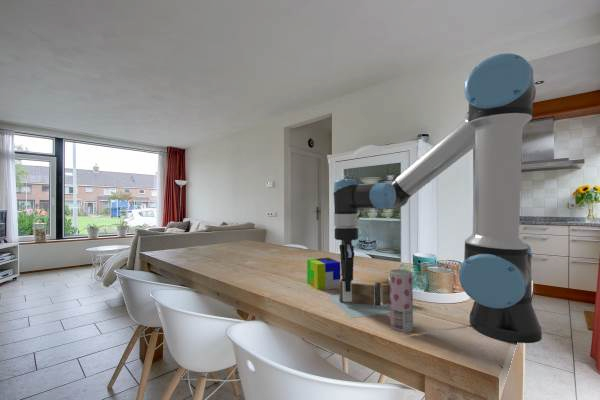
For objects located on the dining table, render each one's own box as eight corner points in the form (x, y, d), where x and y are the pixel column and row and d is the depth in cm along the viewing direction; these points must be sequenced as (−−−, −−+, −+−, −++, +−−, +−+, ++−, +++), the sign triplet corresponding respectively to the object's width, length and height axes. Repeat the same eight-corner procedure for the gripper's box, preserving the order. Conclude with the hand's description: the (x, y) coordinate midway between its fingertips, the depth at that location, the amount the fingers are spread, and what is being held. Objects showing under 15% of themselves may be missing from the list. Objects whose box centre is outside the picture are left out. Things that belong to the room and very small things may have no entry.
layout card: (417, 310, 86) (417, 309, 86) (352, 319, 80) (352, 317, 80) (382, 291, 105) (382, 289, 105) (326, 296, 99) (326, 295, 99)
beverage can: (407, 323, 77) (406, 268, 77) (417, 333, 71) (416, 274, 71) (387, 323, 76) (386, 269, 77) (395, 333, 71) (394, 274, 71)
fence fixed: (400, 300, 93) (400, 280, 93) (403, 301, 92) (403, 281, 92) (380, 302, 91) (380, 282, 91) (383, 304, 89) (383, 283, 90)
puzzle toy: (340, 287, 110) (340, 262, 110) (317, 290, 106) (317, 264, 106) (328, 281, 119) (328, 257, 119) (307, 283, 116) (307, 259, 116)
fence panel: (380, 303, 91) (380, 282, 91) (380, 305, 89) (380, 283, 89) (339, 300, 94) (339, 279, 94) (339, 302, 92) (339, 281, 92)
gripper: (362, 228, 84) (363, 307, 83) (353, 225, 96) (355, 294, 96) (337, 228, 84) (338, 308, 83) (332, 226, 96) (333, 295, 96)
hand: (347, 300), depth 89 cm, fingers closed
